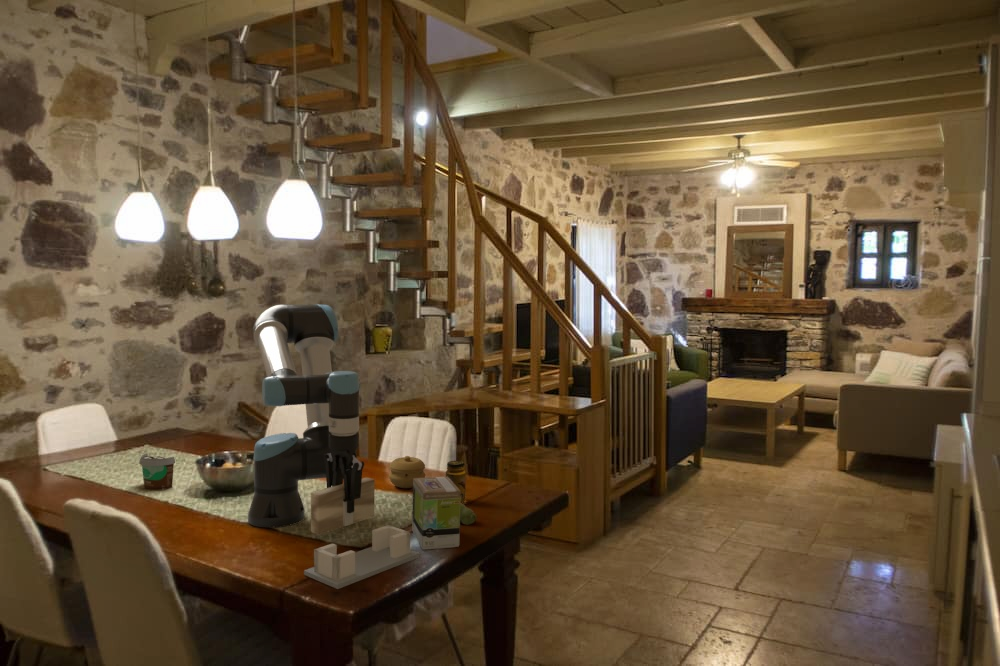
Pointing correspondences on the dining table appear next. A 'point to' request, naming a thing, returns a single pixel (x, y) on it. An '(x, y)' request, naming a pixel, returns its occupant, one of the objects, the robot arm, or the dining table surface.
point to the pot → (406, 471)
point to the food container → (157, 472)
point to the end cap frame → (362, 558)
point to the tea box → (436, 512)
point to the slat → (340, 506)
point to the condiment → (457, 476)
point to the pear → (466, 515)
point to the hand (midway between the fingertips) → (343, 522)
